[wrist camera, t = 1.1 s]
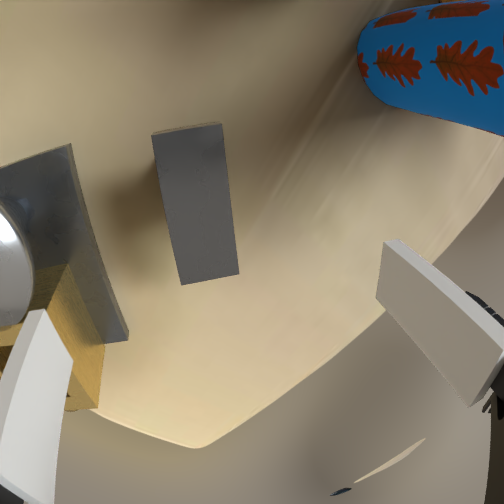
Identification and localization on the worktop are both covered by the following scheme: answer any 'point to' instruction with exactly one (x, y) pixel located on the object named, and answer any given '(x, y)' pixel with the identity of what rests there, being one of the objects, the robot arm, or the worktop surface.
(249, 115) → the worktop surface
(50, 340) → the robot arm
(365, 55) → the thermos
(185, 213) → the grey slab block
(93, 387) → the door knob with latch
